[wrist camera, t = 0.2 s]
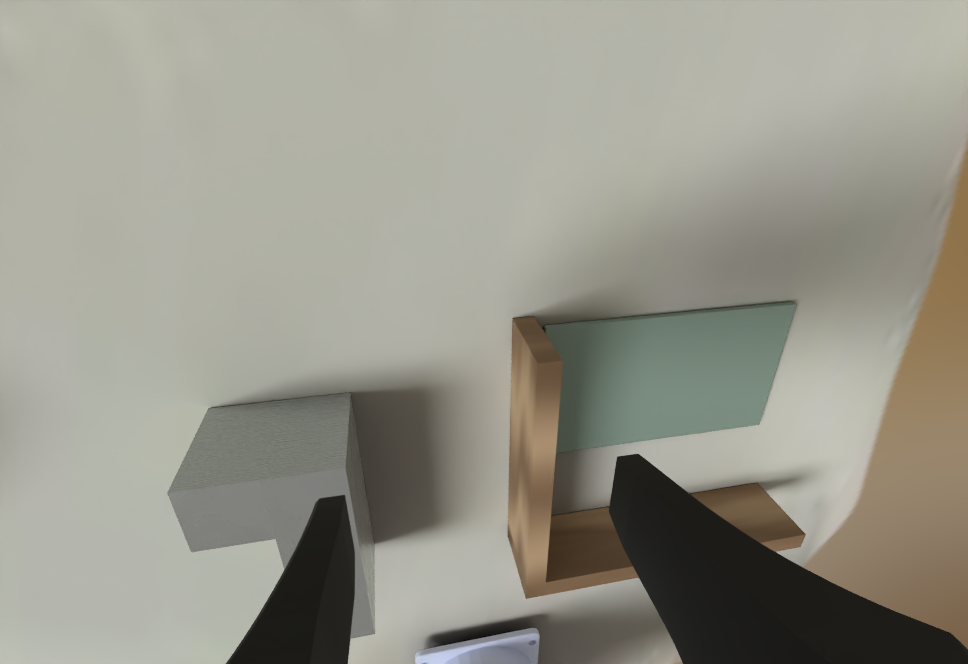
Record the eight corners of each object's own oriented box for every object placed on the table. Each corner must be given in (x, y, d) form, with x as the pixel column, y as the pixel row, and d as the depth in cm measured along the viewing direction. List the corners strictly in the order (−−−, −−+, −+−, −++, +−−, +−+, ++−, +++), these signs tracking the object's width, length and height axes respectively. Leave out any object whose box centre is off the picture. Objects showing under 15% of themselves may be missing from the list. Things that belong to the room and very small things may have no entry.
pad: (755, 421, 29) (759, 424, 28) (537, 451, 26) (538, 455, 26) (792, 301, 25) (796, 304, 25) (544, 325, 23) (546, 328, 23)
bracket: (374, 544, 27) (374, 633, 23) (258, 563, 26) (235, 661, 22) (350, 392, 23) (345, 468, 18) (208, 408, 22) (167, 492, 17)
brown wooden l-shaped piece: (753, 494, 32) (800, 547, 28) (507, 535, 29) (525, 598, 25) (821, 290, 25) (893, 325, 22) (512, 318, 22) (537, 363, 19)
